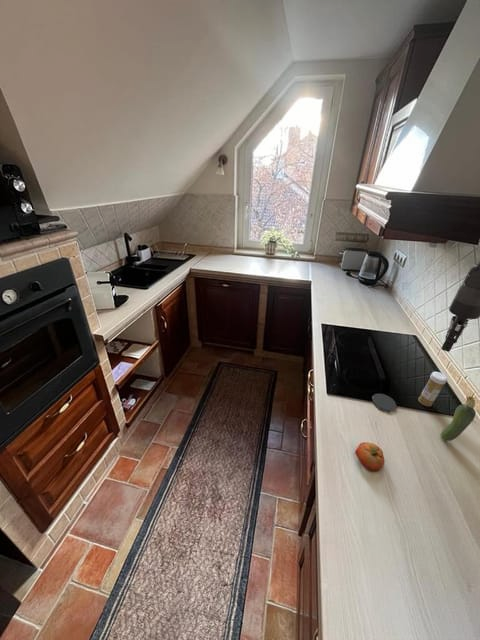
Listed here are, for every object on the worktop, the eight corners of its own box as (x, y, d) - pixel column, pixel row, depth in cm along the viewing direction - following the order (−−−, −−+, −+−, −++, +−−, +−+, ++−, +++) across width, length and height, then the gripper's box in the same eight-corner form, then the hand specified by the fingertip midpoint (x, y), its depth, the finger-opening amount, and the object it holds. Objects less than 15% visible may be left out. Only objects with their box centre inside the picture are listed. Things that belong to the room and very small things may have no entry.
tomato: (360, 470, 71) (363, 443, 73) (349, 461, 78) (352, 436, 79) (388, 477, 71) (391, 450, 72) (375, 467, 78) (378, 443, 79)
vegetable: (453, 439, 82) (484, 395, 72) (454, 450, 79) (488, 406, 69) (436, 433, 84) (465, 389, 74) (437, 443, 81) (467, 399, 71)
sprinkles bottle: (415, 397, 97) (429, 370, 91) (427, 398, 97) (442, 371, 90) (421, 406, 93) (436, 379, 87) (434, 407, 93) (450, 380, 86)
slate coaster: (388, 394, 98) (388, 393, 98) (400, 411, 91) (400, 410, 91) (368, 395, 98) (368, 393, 97) (378, 412, 91) (379, 410, 91)
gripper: (486, 312, 68) (458, 359, 76) (488, 296, 77) (463, 340, 85) (452, 303, 72) (429, 349, 80) (457, 289, 81) (436, 331, 90)
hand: (447, 344), depth 83 cm, fingers open, 8 cm apart
